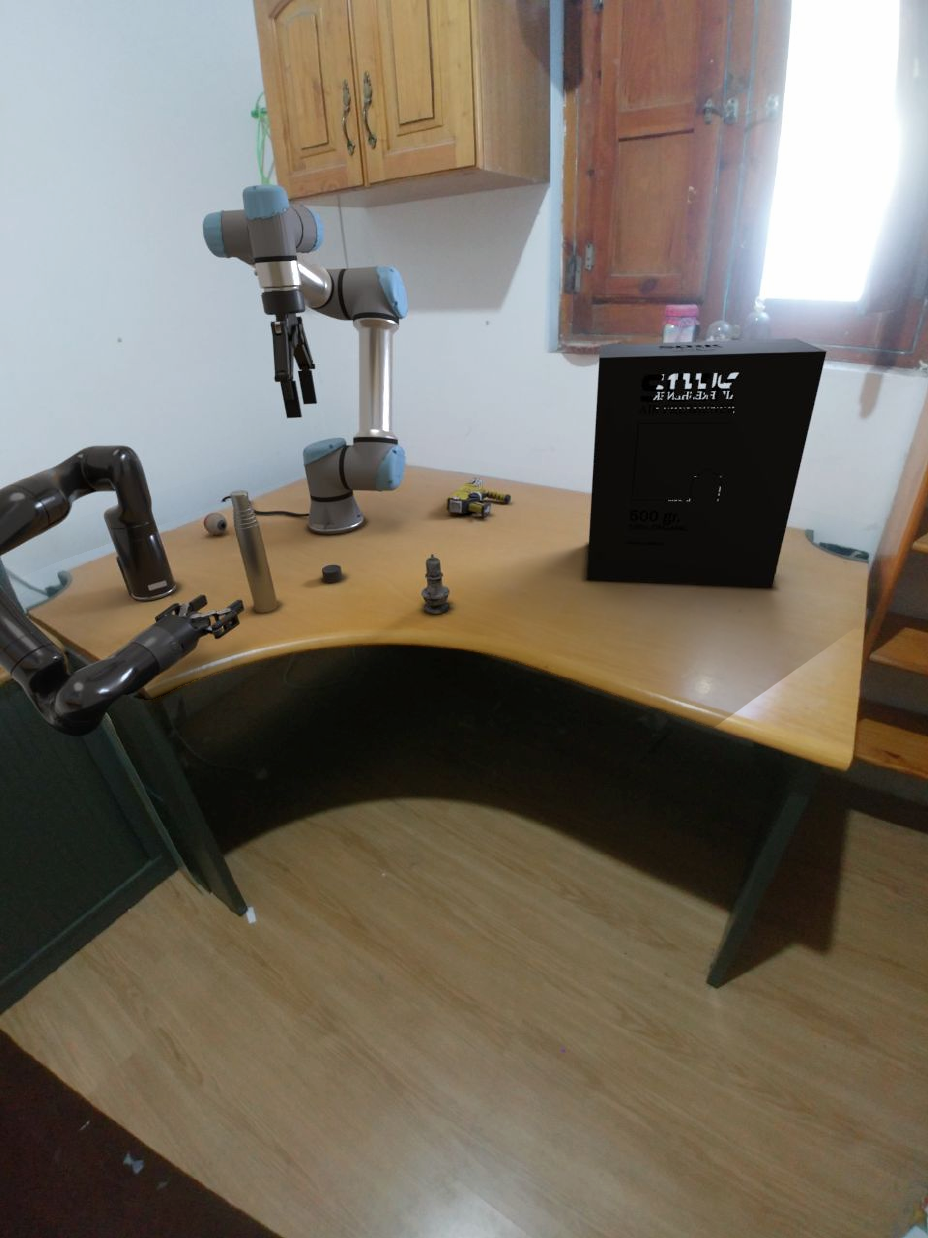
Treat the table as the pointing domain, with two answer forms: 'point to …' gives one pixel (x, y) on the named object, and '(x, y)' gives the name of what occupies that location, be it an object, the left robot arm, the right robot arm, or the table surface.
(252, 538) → the bottle
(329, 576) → the cap
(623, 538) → the cardboard box
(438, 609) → the grey metal turned piece
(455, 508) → the toy gun
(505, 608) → the table surface
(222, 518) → the eyeball
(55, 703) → the left robot arm
